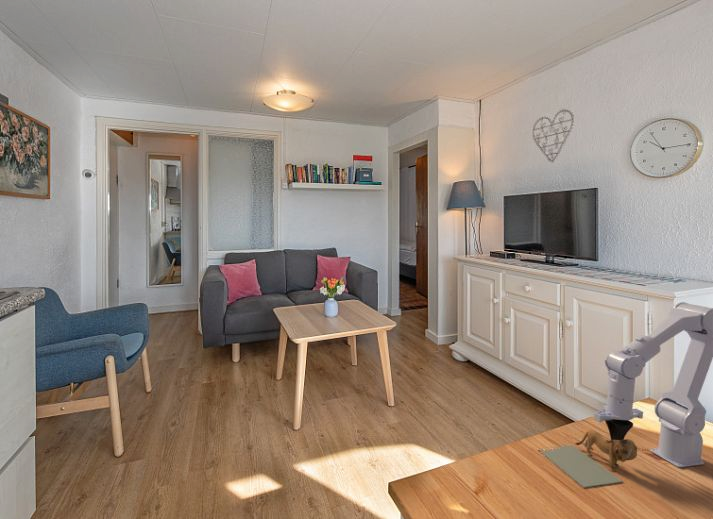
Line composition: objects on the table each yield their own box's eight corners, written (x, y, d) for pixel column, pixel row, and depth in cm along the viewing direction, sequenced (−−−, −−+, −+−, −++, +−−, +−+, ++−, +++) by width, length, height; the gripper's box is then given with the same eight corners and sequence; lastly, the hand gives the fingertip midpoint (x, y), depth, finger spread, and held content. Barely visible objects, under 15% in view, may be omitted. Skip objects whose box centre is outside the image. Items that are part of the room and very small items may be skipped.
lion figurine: (637, 473, 96) (642, 441, 95) (628, 480, 93) (634, 447, 92) (579, 442, 109) (583, 414, 107) (569, 448, 106) (573, 419, 105)
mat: (572, 446, 108) (572, 445, 108) (623, 482, 92) (623, 481, 92) (537, 450, 105) (537, 448, 105) (583, 488, 90) (583, 486, 90)
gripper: (627, 388, 106) (623, 434, 107) (586, 391, 102) (582, 438, 103) (652, 399, 99) (647, 447, 100) (608, 403, 96) (604, 453, 97)
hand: (615, 444), depth 101 cm, fingers closed
